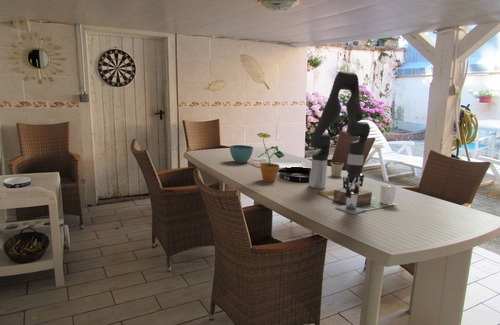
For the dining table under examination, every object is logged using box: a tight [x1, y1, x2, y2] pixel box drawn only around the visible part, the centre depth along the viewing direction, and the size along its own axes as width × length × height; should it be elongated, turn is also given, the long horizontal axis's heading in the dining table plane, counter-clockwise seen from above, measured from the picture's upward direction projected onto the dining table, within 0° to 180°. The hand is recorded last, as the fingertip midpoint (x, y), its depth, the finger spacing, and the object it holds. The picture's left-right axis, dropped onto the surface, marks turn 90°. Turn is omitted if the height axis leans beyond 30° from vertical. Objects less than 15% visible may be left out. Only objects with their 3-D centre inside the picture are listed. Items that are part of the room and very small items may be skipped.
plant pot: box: [229, 144, 254, 164], centre depth 299 cm, size 18×18×12 cm
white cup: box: [379, 183, 397, 205], centre depth 204 cm, size 8×8×10 cm
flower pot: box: [330, 161, 345, 177], centre depth 266 cm, size 9×9×9 cm
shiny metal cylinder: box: [345, 192, 358, 210], centre depth 190 cm, size 5×5×8 cm
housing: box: [332, 185, 373, 207], centre depth 205 cm, size 14×14×6 cm
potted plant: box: [256, 132, 286, 183], centre depth 241 cm, size 18×19×30 cm
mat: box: [335, 204, 367, 216], centre depth 190 cm, size 11×10×1 cm
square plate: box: [267, 159, 309, 172], centre depth 285 cm, size 27×27×4 cm
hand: (351, 196), depth 189 cm, fingers open, 5 cm apart
